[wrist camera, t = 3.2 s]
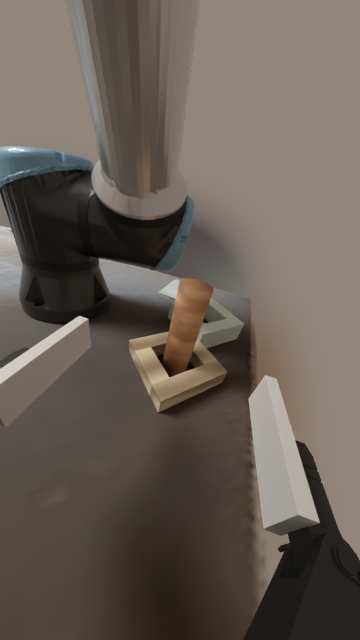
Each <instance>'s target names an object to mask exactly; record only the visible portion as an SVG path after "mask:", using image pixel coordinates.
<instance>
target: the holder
mask: <svg viewBox="0 0 360 640" xmlns="http://www.w3.org/2000/svg"><path fill="white" fill-rule="evenodd" d="M168 333H169V332H164V333H160V334H155V335H150V336H146V337H141V338H136V339H132V340H129V353H130V355H131V357H132V359H133V361H134V364H135V366H136V368H137V370H138V372H139V374H140V376H141V378H142V380H143V383H144V385H145V387H146V389H147V391H148V393H149V395H150V397H151V399H152V401H153V404H154V406H155V408H156V410H157V412H158V413H159V412H161V411H163V410H165V409H167V408H169V407H171V406H174V405H176V404H178V403H180V402H182V401H184V400H186V399H188V398H190V397H192V396H195V395H197V394H199V393H201V392H203V391H205V390H207V389H209V388H211V387H213V386H216V385H218V384H220V383H222V382H223V380H224V378H225V376H226V374H227V371H226V370H225V368H224V367H223V366H222V365H221V364H220V363H219V362H218V361H217V360H216V358H215V357H214V356H213V355H212V354H211V353H210V352H209V351H208V350H207V349H206V347H205V346H204V345H203V344H202V343H201V342H200V341H199V340H198V339H197V341H196V344H195V347H194V349H193V352H192V355H191V358H190V363H191V364H192V365H193V366H194V368H193V369H191V370H188V371H185V372H183V373H180V374H177V375H175V376H172V377H169V376H168V374H167V373H166V371H165V369H164V368H163V366H162V364H161V363H160V361H159V359H158V358H157V356H159V355H162V354H164V352H165V347H166V343H167V338H168Z"/></svg>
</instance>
